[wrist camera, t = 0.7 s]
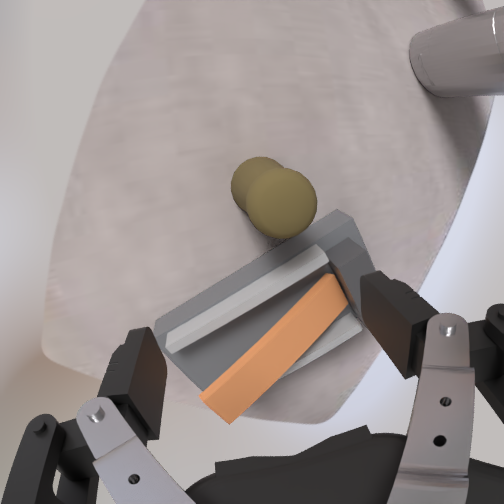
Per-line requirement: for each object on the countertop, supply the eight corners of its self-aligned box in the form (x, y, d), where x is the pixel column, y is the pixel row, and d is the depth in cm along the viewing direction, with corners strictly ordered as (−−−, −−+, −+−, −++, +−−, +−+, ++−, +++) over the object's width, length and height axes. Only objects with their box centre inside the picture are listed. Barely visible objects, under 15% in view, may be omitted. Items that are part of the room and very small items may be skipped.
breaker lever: (325, 272, 31) (334, 274, 30) (340, 301, 32) (348, 303, 31) (198, 395, 25) (203, 402, 24) (223, 418, 27) (229, 424, 26)
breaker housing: (337, 209, 33) (372, 228, 26) (371, 283, 37) (404, 315, 30) (156, 320, 35) (146, 363, 27) (209, 378, 39) (212, 423, 31)
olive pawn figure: (286, 153, 31) (325, 159, 20) (292, 210, 33) (331, 242, 22) (226, 161, 30) (237, 170, 20) (235, 219, 32) (249, 257, 22)
